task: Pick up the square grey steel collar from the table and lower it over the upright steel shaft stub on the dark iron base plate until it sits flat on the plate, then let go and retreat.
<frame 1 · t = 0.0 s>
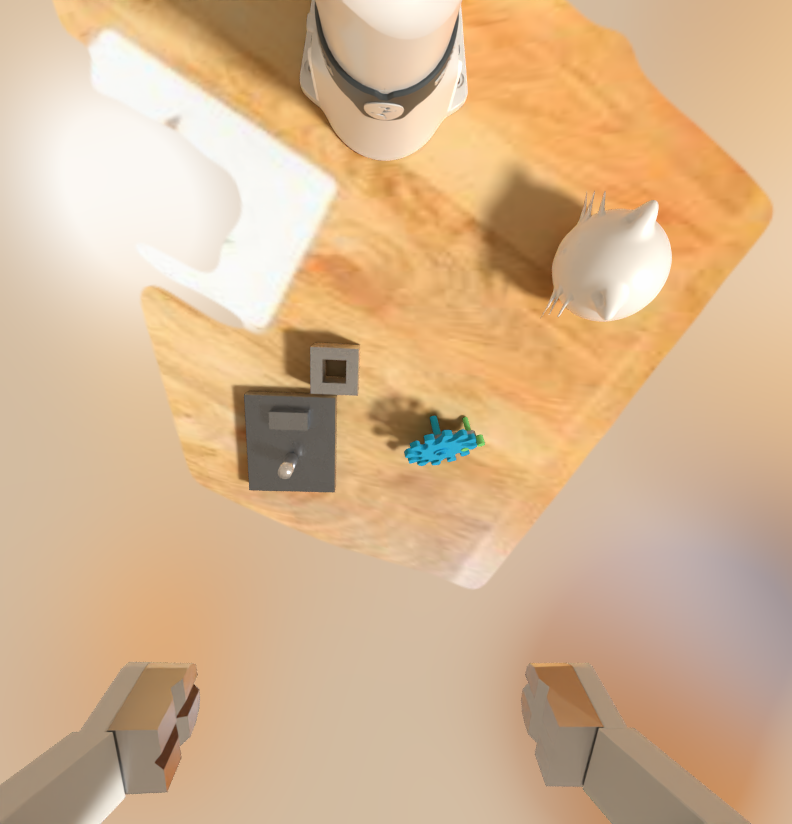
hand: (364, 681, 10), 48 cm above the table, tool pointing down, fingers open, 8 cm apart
shaft stand: (293, 440, 59), on the table
collar: (337, 365, 56), on the table
gear: (440, 437, 60), on the table
cat head: (584, 270, 54), on the table
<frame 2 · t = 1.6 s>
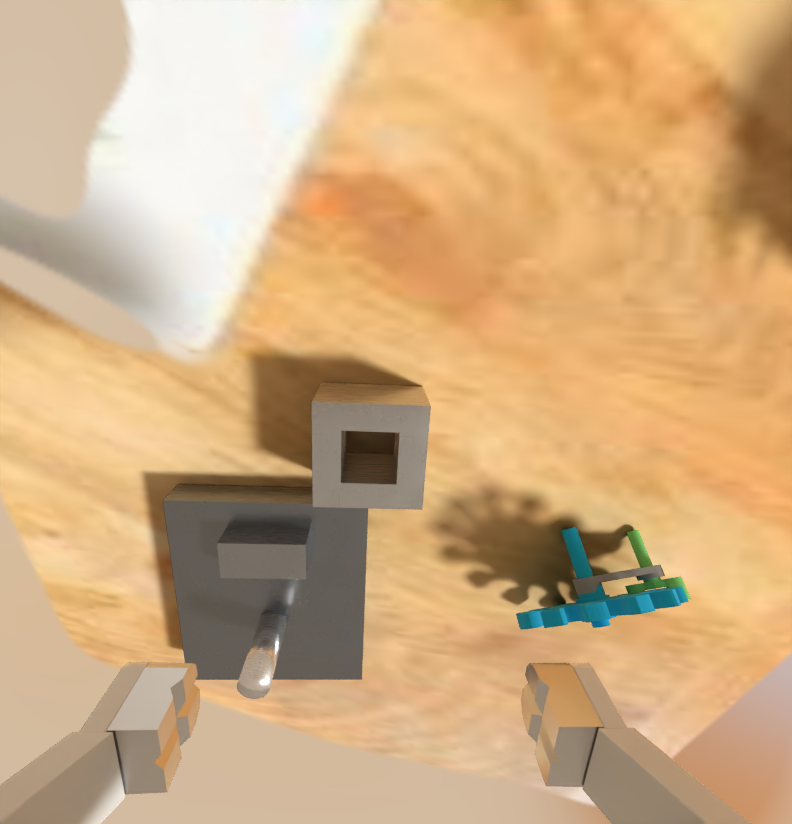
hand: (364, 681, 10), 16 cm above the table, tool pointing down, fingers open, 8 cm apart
shaft stand: (278, 576, 29), on the table
collar: (370, 431, 26), on the table
gear: (575, 564, 30), on the table
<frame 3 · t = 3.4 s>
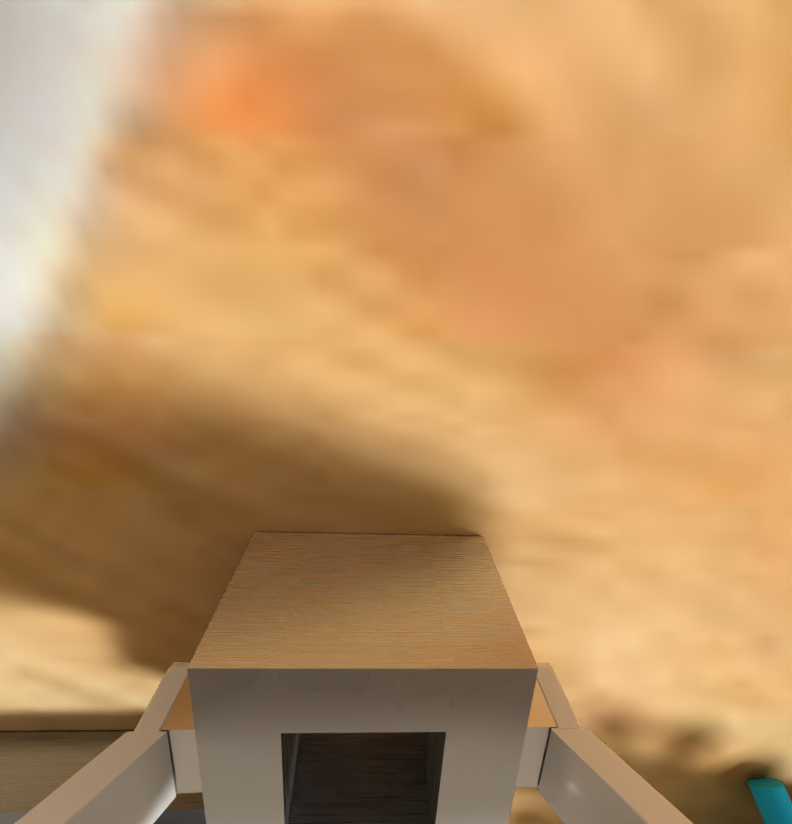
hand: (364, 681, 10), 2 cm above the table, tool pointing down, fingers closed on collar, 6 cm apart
collar: (366, 625, 12), on the table, touching gripper
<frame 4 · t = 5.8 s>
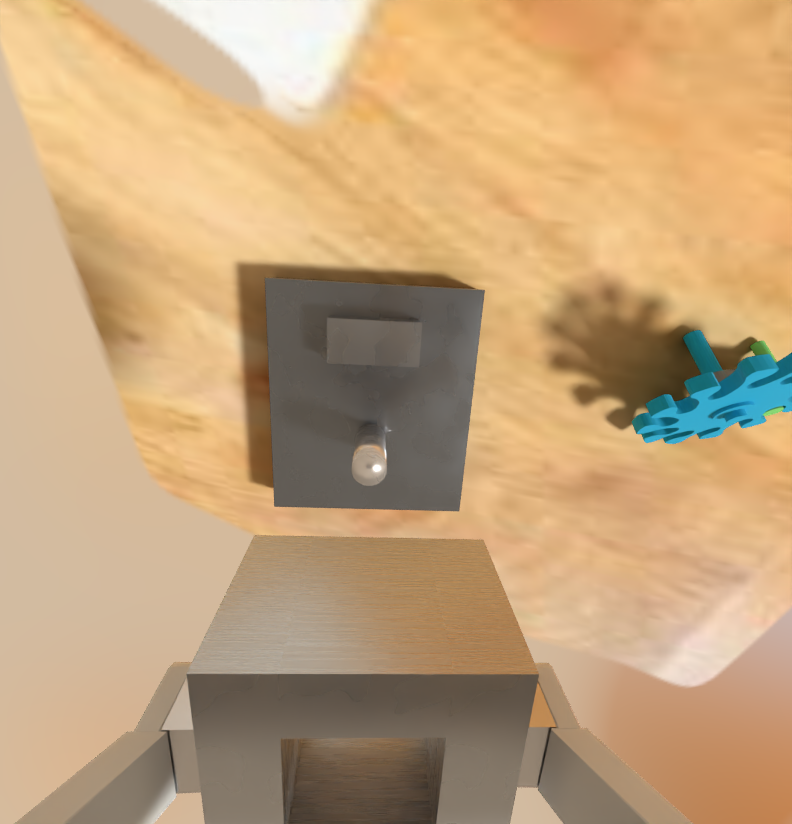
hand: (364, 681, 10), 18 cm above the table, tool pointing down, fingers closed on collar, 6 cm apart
shaft stand: (372, 397, 27), on the table
collar: (367, 629, 12), point 16 cm above the table, touching gripper
gear: (688, 384, 28), on the table
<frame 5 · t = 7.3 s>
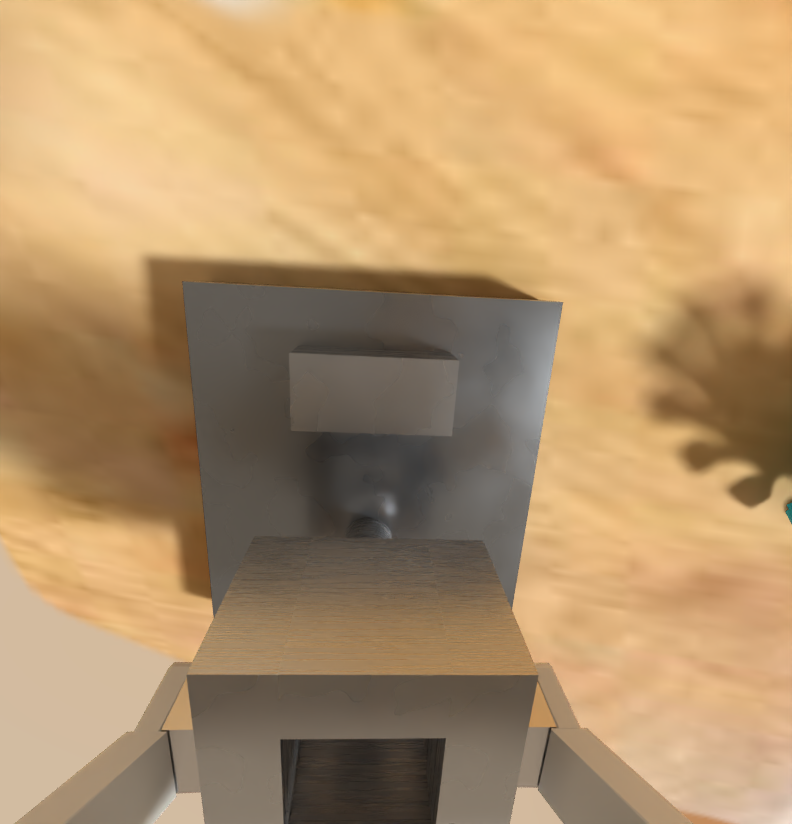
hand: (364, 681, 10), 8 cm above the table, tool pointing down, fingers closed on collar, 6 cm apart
shaft stand: (370, 468, 17), on the table
collar: (367, 629, 12), point 6 cm above the table, touching gripper
when the fingers open (5 cm above the table, at t = 8.4 s): collar drops 1 cm, resting on shaft stand.
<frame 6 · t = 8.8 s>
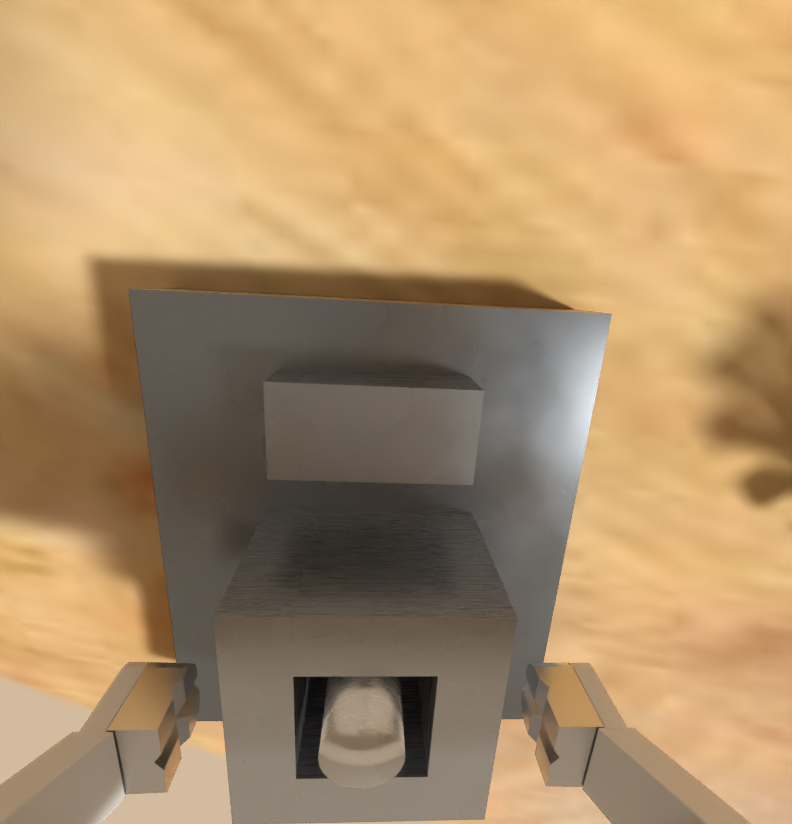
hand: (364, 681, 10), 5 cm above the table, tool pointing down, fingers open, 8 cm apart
shaft stand: (369, 510, 14), on the table
collar: (367, 597, 13), point 2 cm above the table, touching shaft stand
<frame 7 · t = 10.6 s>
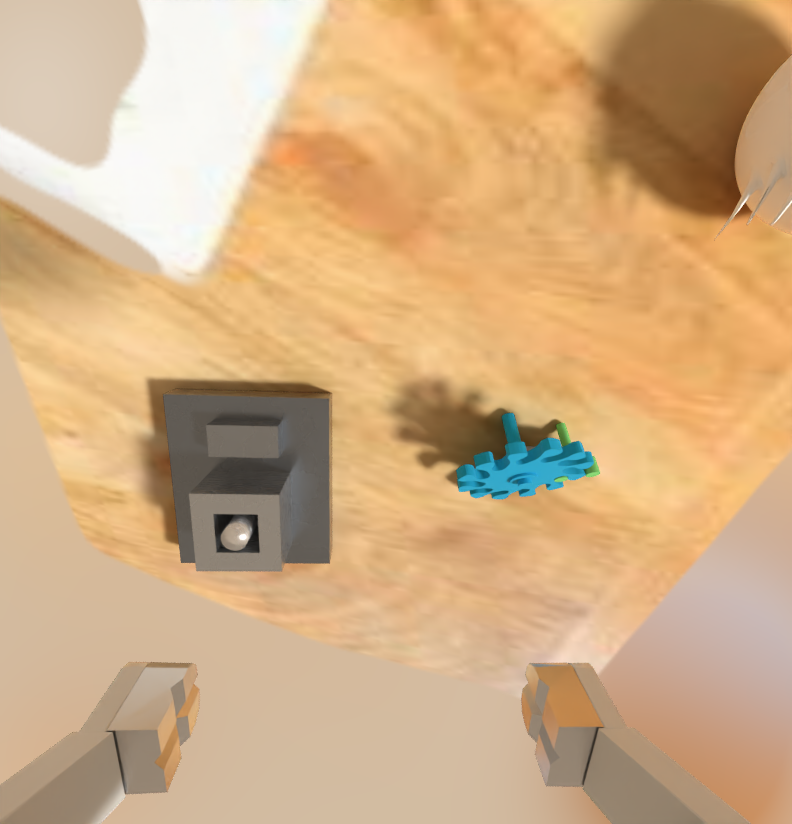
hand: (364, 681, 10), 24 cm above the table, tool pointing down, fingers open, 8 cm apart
shaft stand: (258, 474, 34), on the table
collar: (253, 506, 33), point 2 cm above the table, touching shaft stand
gear: (512, 453, 35), on the table
cat head: (774, 162, 30), on the table
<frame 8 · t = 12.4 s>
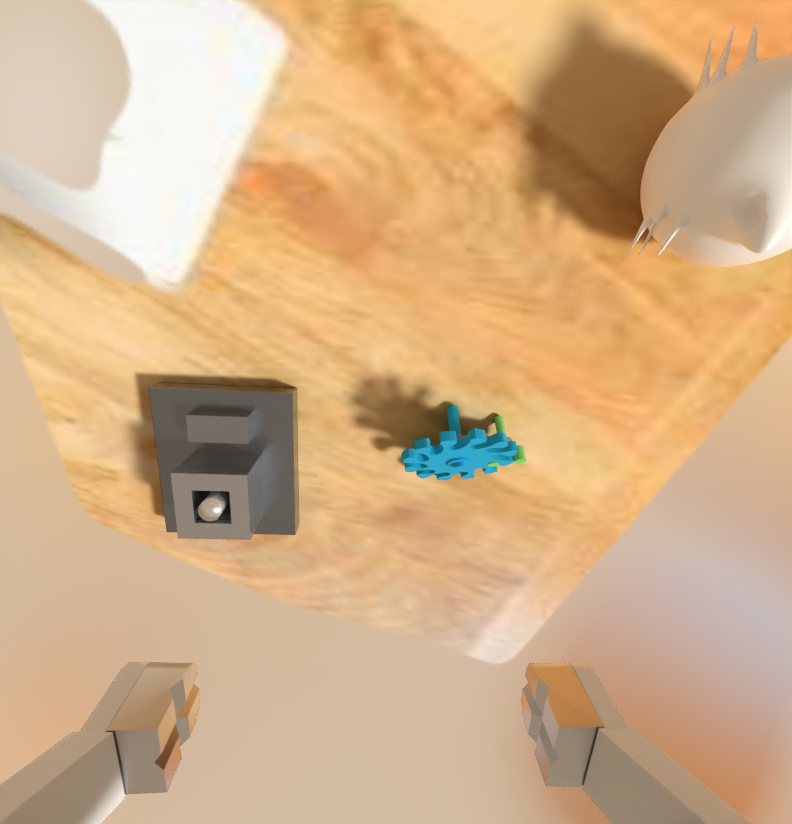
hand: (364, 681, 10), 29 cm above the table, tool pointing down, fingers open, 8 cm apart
shaft stand: (234, 457, 39), on the table
collar: (228, 484, 38), point 2 cm above the table, touching shaft stand
gear: (456, 440, 40), on the table
cat head: (683, 193, 34), on the table
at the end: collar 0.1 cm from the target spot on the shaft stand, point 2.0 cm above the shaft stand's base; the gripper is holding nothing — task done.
